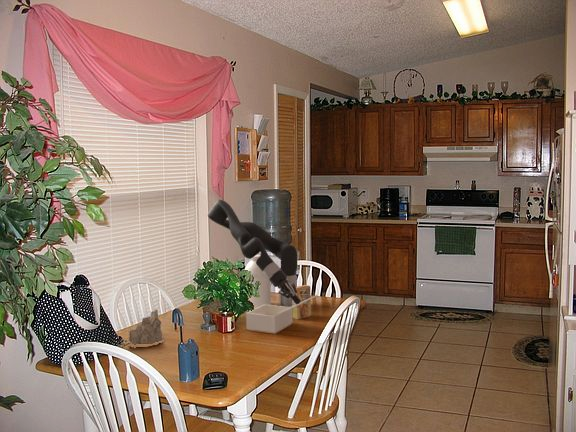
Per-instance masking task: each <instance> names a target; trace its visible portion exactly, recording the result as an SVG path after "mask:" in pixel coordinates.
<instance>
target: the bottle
mask: <svg viewBox="0 0 576 432" xmlns="http://www.w3.org/2000/svg"><path fill="white" fill-rule="evenodd" d="M260 255H261V254H257V255H255V256H254V257H253V258H252V259H249V261H248V262H247V263H246V265H245V268H244V270H248V271H251V272H252V275H253V277H254V281H253V283H254V284H255V283H256V281H260V283H261V285H260V287H259V289H258V290H259V295H260V297H259V298H256V297H254V296H252V297H251V298H249V300H250V301H251V302H252V303H253V305H254V309H256V308H258V307H260V306H262V305H264V304H266V305H272V291H271V288H272V287H271V282H270V281H269V280H268V278H267V277H266V276H265V274H264V273H263V272H262V270H261V269H260V268H259V267H258V266H257V264H256V261H257V259H258V258H259V257H260Z"/></svg>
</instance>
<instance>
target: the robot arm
mask: <svg viewBox="0 0 576 432" xmlns="http://www.w3.org/2000/svg"><path fill="white" fill-rule="evenodd" d="M233 209H234V208H232V206H231V205H230V204H229V203H228V202H226V201H225V200H223V199H217V200H216V201H215V202H214V204H213V205H212V207H211V208H210V210H209V211H208V212H207V217H208V219H210V220H211V221H212V222H214V223H216V224H217V225H220V226H221V227H224V228H226V229H227V230H229V231H230V233H231V236H232V238H234V240H235V241H236V242H237V243H238V245H239V247H240V250H241V253H242V255H243V256H244V258H246V259H248V260H251V259H252V258H253V257H254V256H255V255H260V257H259V258H258V259H257V261H256V264H257V266H258V267H259V268H260V269H261V270H262V272H263V273H264V274H265V276H266V277H267V278H268V280H269V281H270V284H271V285H272V286H273V287H274V288H277V289H279V290H278V292H277V293H278V294H279V306H285V307H291V306H292V300H293V301H294V302H295V303H296V304H299V303H300V302H301V300H300V299H299V298H298V297H297V295H296V293H297V290H296V287H298V285H297V271H298V270H297V269H298V251H297V249H296V247H295V246H293V245H292V244H289V243H286V242H283V241H281V240H279V239H277V238H275V237H273V235H271V234H270V233H269V232H268V231H267V230H265V229H264V228H263V227H261V226H259V225H257V223H254V222H251V221H241V220H240V219H239V217H238V216H237V214H236V213H235V211H234V210H233ZM267 251H268V252H270V253H271V254H272V255H274V256H275V257H276V258H278V259H279V260H280V266H278V264H277V263H276V262H275V261H274V260H273V259H272V258H271V256H270V255H269V253H268V252H267ZM259 253H260V254H259Z"/></svg>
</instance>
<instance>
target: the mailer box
mask: <svg viewBox="0 0 576 432" xmlns="http://www.w3.org/2000/svg"><path fill="white" fill-rule="evenodd" d="M287 308H289V307H285V306H280V305H275V304H274V305H273V304H271V305H266V304H264V305H262V306H260V307H258V308H256V309H254V310H252V311H251V310H248V311H247V312H245V316H246V317H245V321H246V325H245V326H246V331H252V332H260V333H265V334H266V333H268V334H273V335H276V334H277V333H280V331H283V330H284V329H286V328H288V327H290V326H291V325H293V321H294V320H293V312H292V309H290V310H287V311H285V312H283V313H281V314H279V315H276V314H278V313H280V312H282V311H283V310H285V309H287ZM275 315H276V316H275Z"/></svg>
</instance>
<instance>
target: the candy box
mask: <svg viewBox="0 0 576 432" xmlns="http://www.w3.org/2000/svg"><path fill="white" fill-rule="evenodd" d="M296 290H297V293H296V295H297V297H298V298H299V299H300V300H301V302H302V301H304V300H307V299H309V298H311V297H312V296H311V285H308V284H303V285H297V287H296ZM311 300H312V299H311ZM311 300H309V301H307V302H305V303H303V304H301V305H299V306H296V307H294V308H292V319H294V320H300V319H304V318H309V317H311V316H312V312H311V311H312V306H311V305H312V304H311ZM293 305H296V303H295V302H294V301H293V300H292V306H293Z"/></svg>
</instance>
